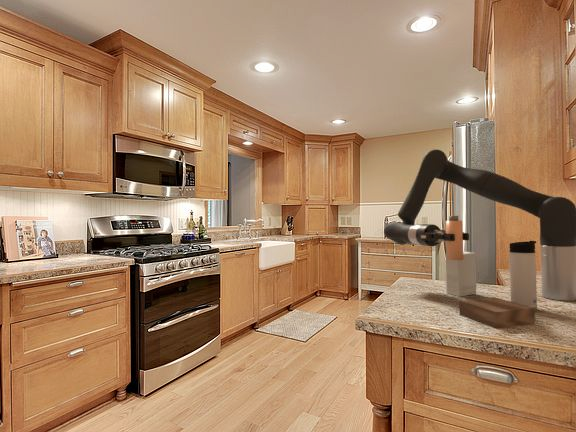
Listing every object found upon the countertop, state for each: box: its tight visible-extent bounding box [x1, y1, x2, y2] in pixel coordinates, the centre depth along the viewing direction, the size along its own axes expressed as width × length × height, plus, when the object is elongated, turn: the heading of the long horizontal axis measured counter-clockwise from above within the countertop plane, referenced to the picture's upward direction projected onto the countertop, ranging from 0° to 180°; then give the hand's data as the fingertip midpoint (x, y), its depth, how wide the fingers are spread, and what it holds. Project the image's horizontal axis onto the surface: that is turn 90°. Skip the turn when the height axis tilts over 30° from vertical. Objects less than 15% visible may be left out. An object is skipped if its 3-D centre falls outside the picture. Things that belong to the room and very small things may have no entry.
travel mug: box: [508, 240, 538, 312], centre depth 96 cm, size 6×7×20 cm
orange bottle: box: [445, 215, 464, 260], centre depth 101 cm, size 5×5×14 cm
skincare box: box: [445, 250, 477, 297], centre depth 115 cm, size 8×6×15 cm
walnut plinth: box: [458, 296, 536, 329], centre depth 87 cm, size 12×12×4 cm
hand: (461, 237), depth 98 cm, fingers closed on orange bottle, 4 cm apart
